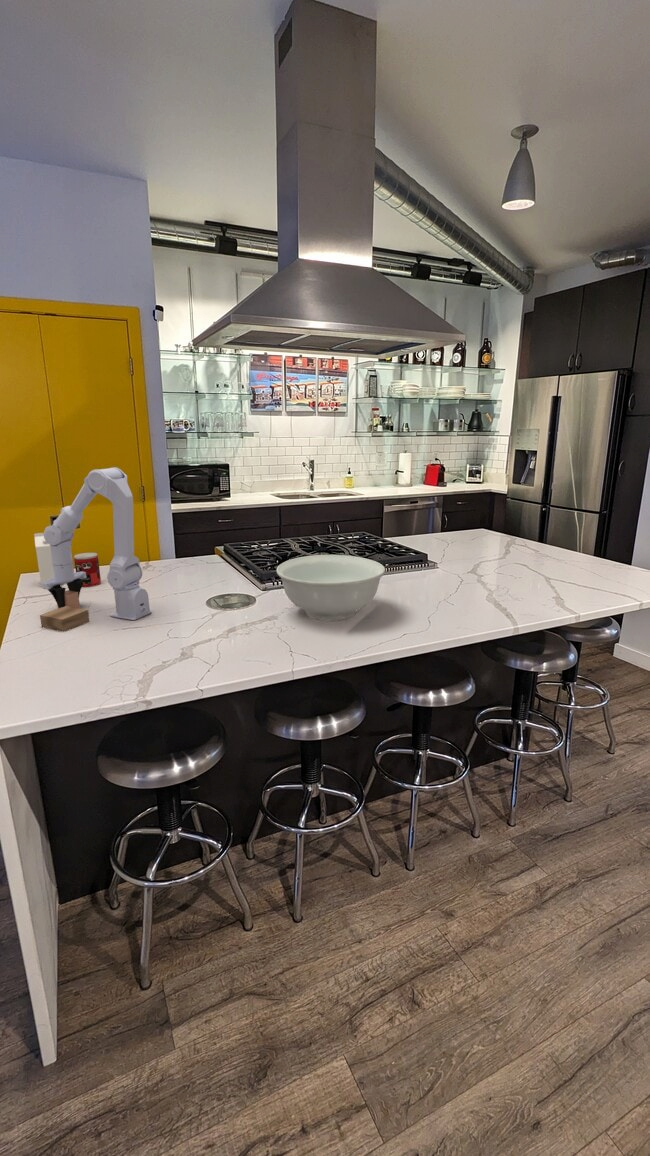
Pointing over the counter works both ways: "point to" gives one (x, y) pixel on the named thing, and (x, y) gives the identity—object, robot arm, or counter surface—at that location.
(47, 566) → the milk carton
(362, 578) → the bowl
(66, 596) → the terracotta block
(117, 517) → the robot arm
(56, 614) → the walnut base block
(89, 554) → the canned food
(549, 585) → the counter surface
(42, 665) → the counter surface
